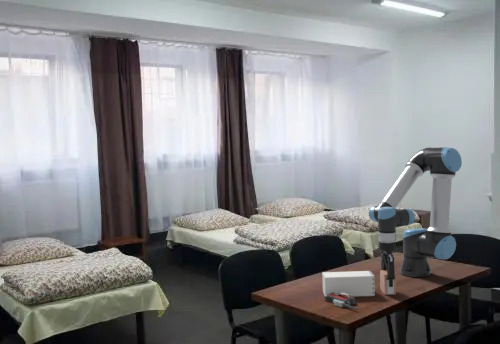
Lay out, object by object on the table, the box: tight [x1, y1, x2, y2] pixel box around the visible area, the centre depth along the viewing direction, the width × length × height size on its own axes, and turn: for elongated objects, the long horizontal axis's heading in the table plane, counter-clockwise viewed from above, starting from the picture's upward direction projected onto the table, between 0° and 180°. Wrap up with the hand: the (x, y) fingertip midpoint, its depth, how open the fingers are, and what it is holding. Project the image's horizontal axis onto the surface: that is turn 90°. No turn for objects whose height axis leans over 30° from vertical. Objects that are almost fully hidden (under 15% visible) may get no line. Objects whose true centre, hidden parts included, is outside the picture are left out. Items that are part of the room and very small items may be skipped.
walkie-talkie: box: [324, 292, 359, 311], centre depth 220 cm, size 9×4×20 cm
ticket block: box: [321, 270, 376, 298], centre depth 235 cm, size 22×9×9 cm, turn 90°
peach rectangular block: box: [379, 269, 397, 296], centre depth 234 cm, size 5×8×9 cm, turn 0°
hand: (388, 290), depth 235 cm, fingers closed on peach rectangular block, 8 cm apart
